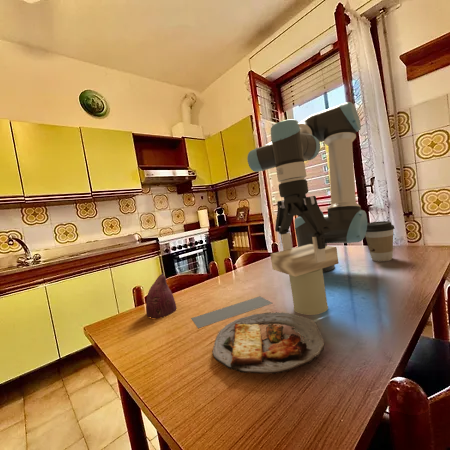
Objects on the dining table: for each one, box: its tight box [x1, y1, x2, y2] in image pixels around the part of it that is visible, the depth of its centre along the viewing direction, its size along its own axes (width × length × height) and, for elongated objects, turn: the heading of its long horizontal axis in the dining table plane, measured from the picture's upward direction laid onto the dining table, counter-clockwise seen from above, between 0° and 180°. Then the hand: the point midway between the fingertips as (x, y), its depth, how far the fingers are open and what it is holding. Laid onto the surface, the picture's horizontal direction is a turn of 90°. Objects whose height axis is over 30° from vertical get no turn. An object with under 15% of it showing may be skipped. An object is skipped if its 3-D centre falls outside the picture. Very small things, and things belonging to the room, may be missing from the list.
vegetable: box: [145, 272, 178, 319], centre depth 87 cm, size 10×10×15 cm
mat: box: [190, 295, 273, 329], centre depth 78 cm, size 8×24×1 cm, turn 111°
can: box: [288, 269, 329, 316], centre depth 71 cm, size 9×9×12 cm
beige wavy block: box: [269, 244, 340, 277], centre depth 71 cm, size 10×14×4 cm
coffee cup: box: [365, 220, 395, 262], centre depth 105 cm, size 11×11×15 cm
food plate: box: [212, 311, 325, 375], centre depth 58 cm, size 25×23×4 cm
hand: (303, 258), depth 71 cm, fingers open, 13 cm apart
